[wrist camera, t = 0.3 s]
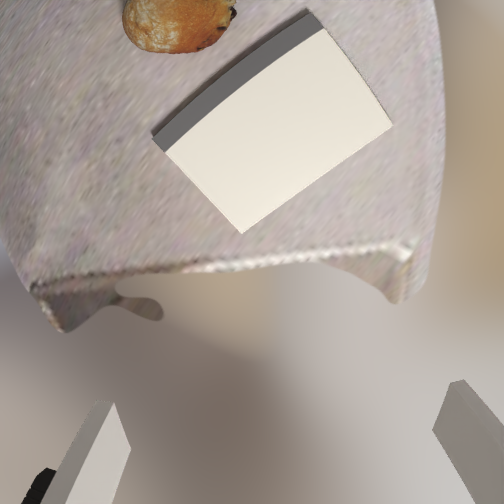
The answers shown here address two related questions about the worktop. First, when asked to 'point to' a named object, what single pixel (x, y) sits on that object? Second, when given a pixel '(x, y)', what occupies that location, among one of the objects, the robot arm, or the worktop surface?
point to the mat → (274, 123)
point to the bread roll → (176, 24)
